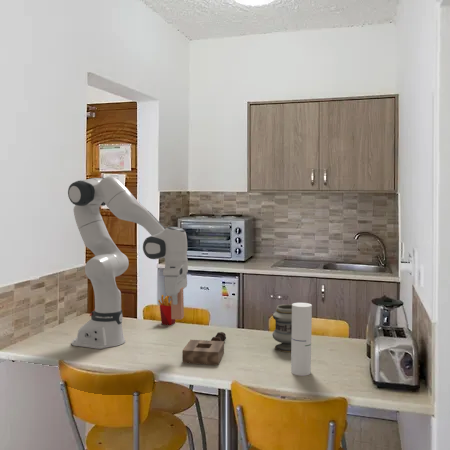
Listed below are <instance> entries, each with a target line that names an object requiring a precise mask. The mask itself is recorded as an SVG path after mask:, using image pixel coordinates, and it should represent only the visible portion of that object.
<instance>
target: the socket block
mask: <svg viewBox="0 0 450 450" xmlns="http://www.w3.org/2000/svg"><path fill="white" fill-rule="evenodd" d="M224 354H225V341H211V340H208V339H207V340H202V339H190V340H189V341H188V343H186V345H185V347H184V348H183V349H182V357H181V358H182V364H191V365H206V366H207V365H208V366H210V365H211V366H219V365H220V362H221V360H222V359H223V356H224Z"/></svg>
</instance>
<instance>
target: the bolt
mask: <svg viewBox="0 0 450 450" xmlns="http://www.w3.org/2000/svg"><path fill="white" fill-rule="evenodd" d="M226 339H227V336H226V333H225V332H223V331H220V332H219V331H218V332H217V333H216V335H215V336H213V337H212V338H211V339H210V341H224V342H225V341H226Z"/></svg>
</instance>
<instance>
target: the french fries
mask: <svg viewBox="0 0 450 450" xmlns="http://www.w3.org/2000/svg"><path fill="white" fill-rule="evenodd" d="M160 299H161V300H160ZM160 299H158V300H157V301H158V303H159V312H160V320H161V321H160V322H161V325H162V326H163V325H164V326H168V327H169V326H172V325H175V324H176V319H171V300H170V301H169V299H171V296H167V295H166V296H165V297H164V294H161V297H160Z"/></svg>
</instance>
